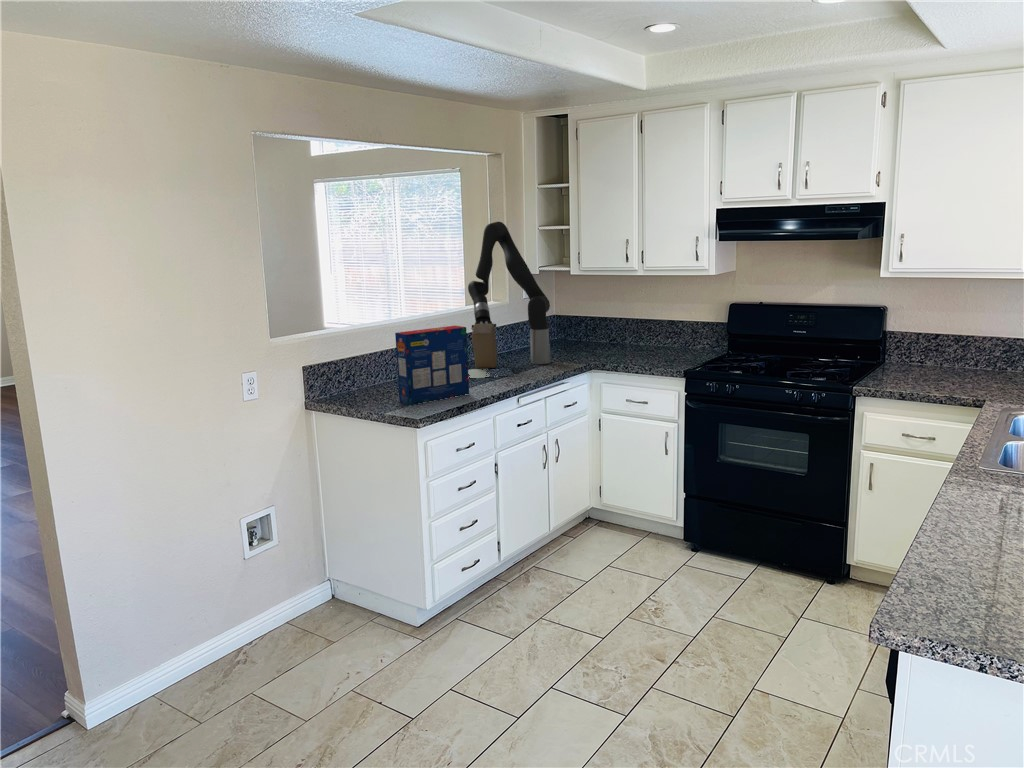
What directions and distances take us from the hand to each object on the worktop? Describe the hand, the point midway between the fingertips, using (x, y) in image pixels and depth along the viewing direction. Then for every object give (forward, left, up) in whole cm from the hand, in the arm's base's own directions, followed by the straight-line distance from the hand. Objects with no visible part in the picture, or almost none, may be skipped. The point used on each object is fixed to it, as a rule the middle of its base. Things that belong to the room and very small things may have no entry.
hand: (485, 340), depth 375 cm
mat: (+1, +17, -13) cm, 22 cm away
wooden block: (0, +1, -11) cm, 11 cm away
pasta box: (+30, +65, -13) cm, 72 cm away
